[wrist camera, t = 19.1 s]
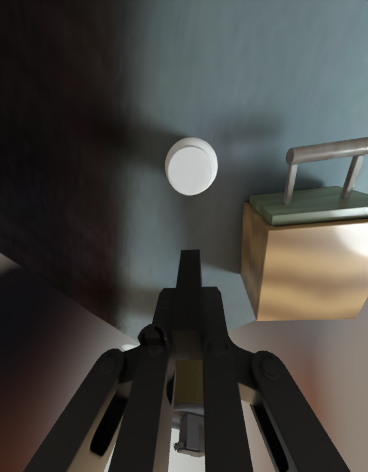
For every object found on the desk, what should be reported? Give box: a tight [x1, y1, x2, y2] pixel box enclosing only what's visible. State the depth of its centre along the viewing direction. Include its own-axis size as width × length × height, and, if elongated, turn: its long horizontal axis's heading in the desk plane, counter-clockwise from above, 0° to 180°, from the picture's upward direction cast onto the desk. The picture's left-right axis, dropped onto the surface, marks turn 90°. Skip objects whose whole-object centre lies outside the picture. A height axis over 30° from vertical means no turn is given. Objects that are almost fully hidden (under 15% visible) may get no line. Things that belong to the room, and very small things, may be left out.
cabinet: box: [240, 202, 368, 321], centre depth 23 cm, size 15×13×10 cm
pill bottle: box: [165, 137, 218, 195], centre depth 18 cm, size 6×5×10 cm
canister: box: [172, 357, 205, 457], centre depth 29 cm, size 11×10×20 cm
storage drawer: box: [249, 137, 368, 227], centre depth 21 cm, size 19×11×8 cm, turn 8°
